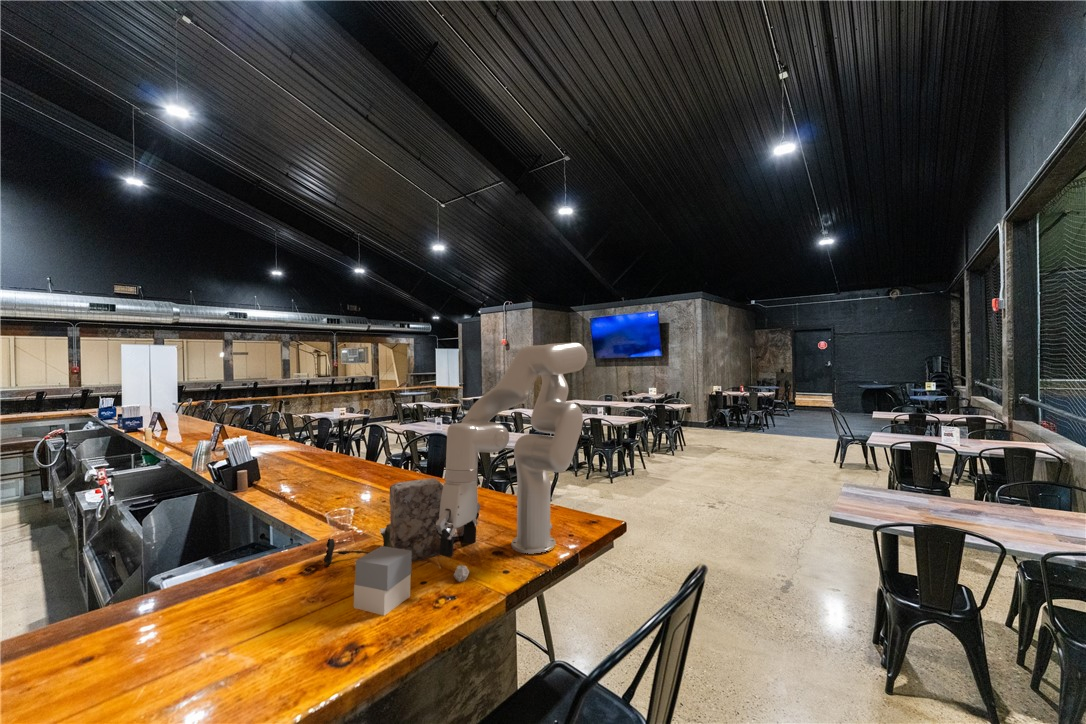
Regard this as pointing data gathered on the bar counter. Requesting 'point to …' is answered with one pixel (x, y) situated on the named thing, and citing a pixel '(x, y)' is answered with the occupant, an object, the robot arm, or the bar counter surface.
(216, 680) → the bar counter surface
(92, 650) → the bar counter surface
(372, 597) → the lower block
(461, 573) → the game die
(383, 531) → the artificial flower
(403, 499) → the stone block
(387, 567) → the upper block
